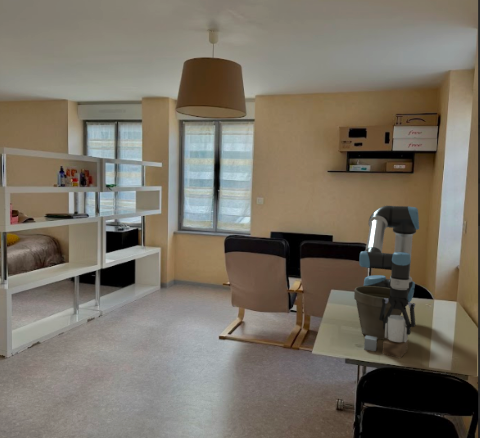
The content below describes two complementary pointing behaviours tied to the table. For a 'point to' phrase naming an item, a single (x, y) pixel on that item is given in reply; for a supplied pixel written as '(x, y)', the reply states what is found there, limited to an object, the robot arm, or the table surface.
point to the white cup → (396, 328)
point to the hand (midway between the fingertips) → (395, 339)
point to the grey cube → (370, 343)
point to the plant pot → (372, 309)
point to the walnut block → (394, 348)
